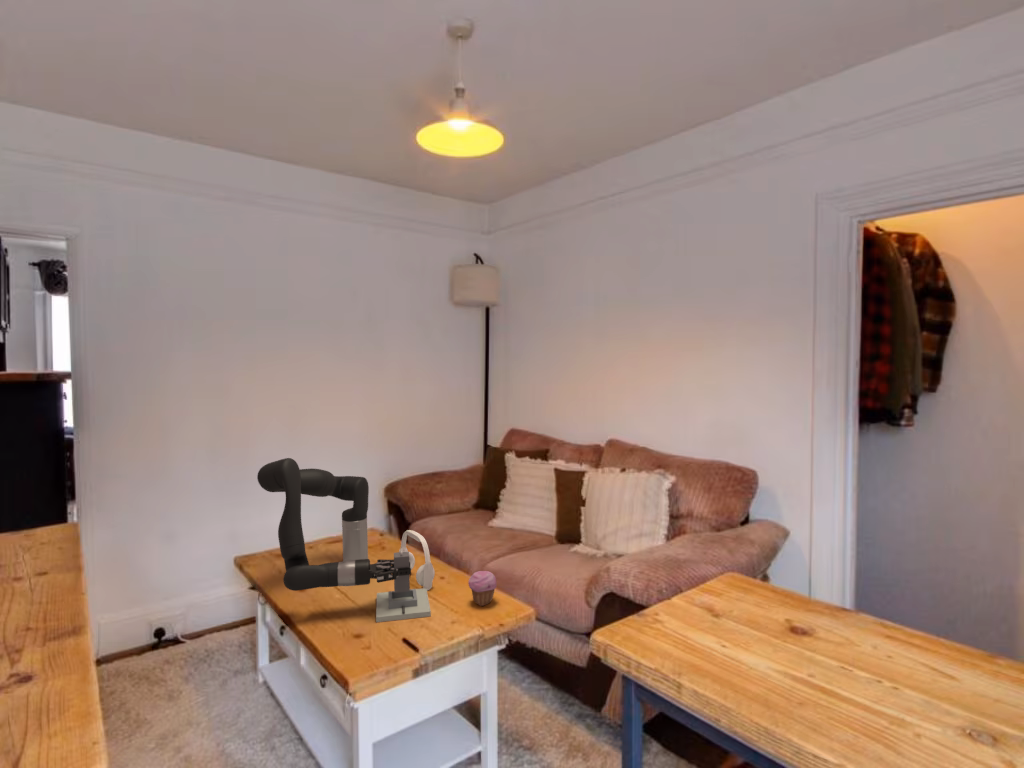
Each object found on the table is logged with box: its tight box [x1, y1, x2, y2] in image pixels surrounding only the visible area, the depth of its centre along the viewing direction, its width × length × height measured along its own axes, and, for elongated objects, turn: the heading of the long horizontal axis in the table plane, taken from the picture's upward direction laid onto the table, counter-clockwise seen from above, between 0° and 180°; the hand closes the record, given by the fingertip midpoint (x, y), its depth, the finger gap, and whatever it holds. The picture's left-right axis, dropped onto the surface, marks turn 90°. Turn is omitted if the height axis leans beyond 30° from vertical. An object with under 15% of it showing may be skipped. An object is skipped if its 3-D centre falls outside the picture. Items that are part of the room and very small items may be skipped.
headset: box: [398, 529, 436, 591], centre depth 197 cm, size 20×7×18 cm, turn 36°
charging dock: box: [375, 587, 432, 623], centre depth 178 cm, size 18×16×4 cm
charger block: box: [393, 548, 411, 593], centre depth 178 cm, size 5×5×12 cm
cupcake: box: [468, 570, 497, 607], centre depth 180 cm, size 9×9×10 cm
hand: (410, 567), depth 178 cm, fingers closed on charger block, 4 cm apart
